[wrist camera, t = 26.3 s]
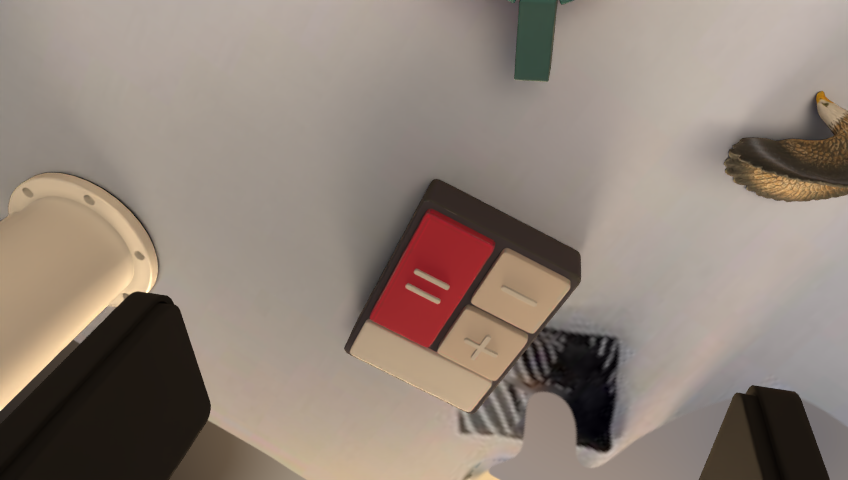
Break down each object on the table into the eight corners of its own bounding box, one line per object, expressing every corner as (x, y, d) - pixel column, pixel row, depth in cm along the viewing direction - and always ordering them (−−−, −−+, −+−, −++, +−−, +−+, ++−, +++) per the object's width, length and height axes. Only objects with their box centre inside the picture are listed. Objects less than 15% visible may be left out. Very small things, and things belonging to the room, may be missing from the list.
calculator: (584, 286, 36) (471, 424, 44) (583, 248, 39) (479, 382, 48) (421, 202, 35) (338, 358, 43) (435, 171, 39) (356, 321, 47)
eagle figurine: (905, 8, 27) (704, 110, 29) (1027, 123, 23) (784, 228, 26) (883, 103, 33) (719, 180, 35) (977, 206, 29) (785, 283, 32)
